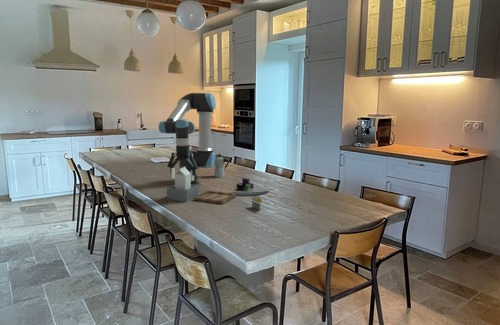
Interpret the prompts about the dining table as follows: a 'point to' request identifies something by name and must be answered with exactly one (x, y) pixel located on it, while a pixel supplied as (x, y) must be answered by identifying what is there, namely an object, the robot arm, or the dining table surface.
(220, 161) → the coffee maker
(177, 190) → the bin
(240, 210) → the dining table surface
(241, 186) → the mineral sample
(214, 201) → the tray
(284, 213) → the dining table surface
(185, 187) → the milk carton
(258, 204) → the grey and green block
